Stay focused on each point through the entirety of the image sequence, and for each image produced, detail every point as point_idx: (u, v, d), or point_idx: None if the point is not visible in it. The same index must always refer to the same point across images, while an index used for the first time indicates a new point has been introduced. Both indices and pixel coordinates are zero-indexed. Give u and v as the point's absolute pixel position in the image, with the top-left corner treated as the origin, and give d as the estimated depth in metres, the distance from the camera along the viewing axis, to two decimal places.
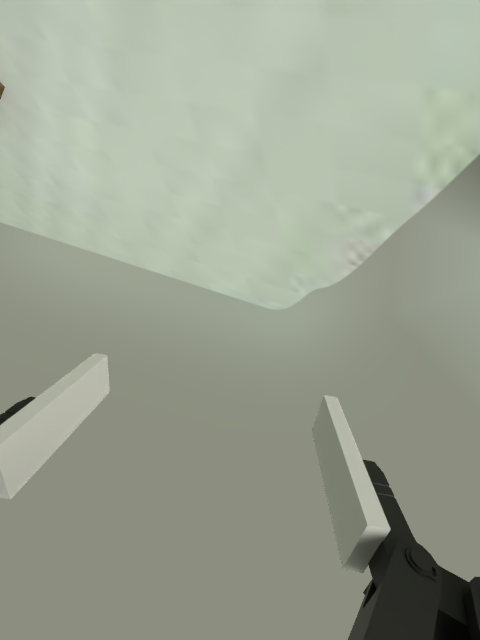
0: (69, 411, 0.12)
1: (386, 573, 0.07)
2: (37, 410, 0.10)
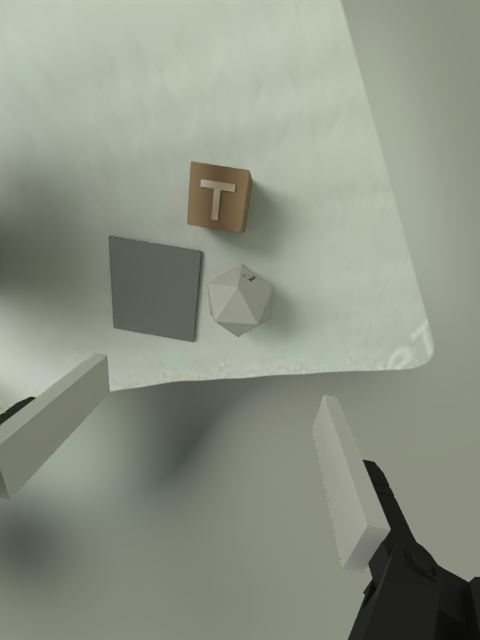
0: (69, 411, 0.12)
1: (386, 573, 0.07)
2: (37, 410, 0.10)
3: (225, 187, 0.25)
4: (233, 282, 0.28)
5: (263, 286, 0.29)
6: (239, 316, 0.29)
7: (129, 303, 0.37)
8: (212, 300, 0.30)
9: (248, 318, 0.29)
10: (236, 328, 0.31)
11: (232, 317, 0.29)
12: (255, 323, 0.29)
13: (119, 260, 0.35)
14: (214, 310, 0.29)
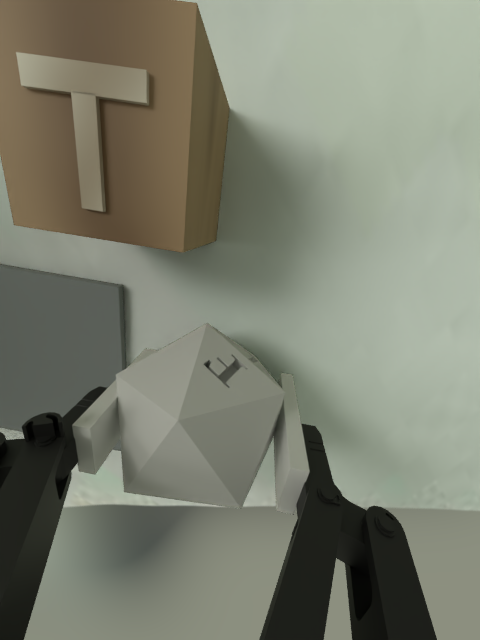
0: None
1: (302, 511, 0.08)
2: (113, 397, 0.12)
3: (114, 85, 0.07)
4: (171, 395, 0.10)
5: (259, 396, 0.11)
6: (188, 488, 0.10)
7: None
8: (122, 426, 0.11)
9: (214, 494, 0.10)
10: None
11: (169, 488, 0.10)
12: (234, 505, 0.10)
13: None
14: (124, 458, 0.11)
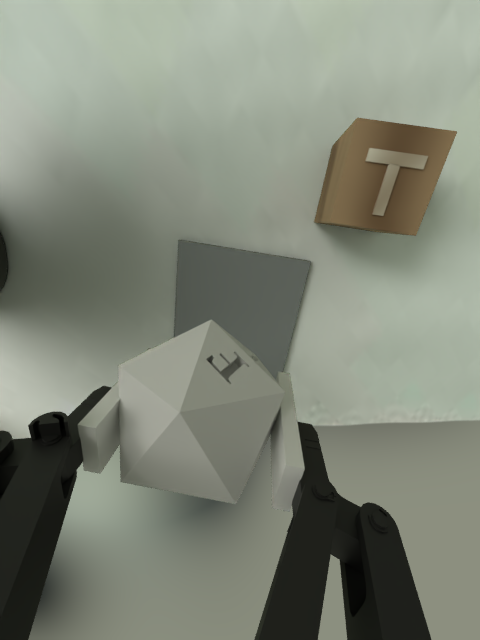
0: None
1: (297, 509, 0.08)
2: (118, 396, 0.12)
3: (408, 161, 0.15)
4: (173, 387, 0.10)
5: (260, 394, 0.11)
6: (185, 481, 0.10)
7: None
8: (122, 416, 0.11)
9: (210, 488, 0.10)
10: None
11: (166, 480, 0.10)
12: (229, 501, 0.10)
13: (190, 273, 0.25)
14: (122, 448, 0.11)
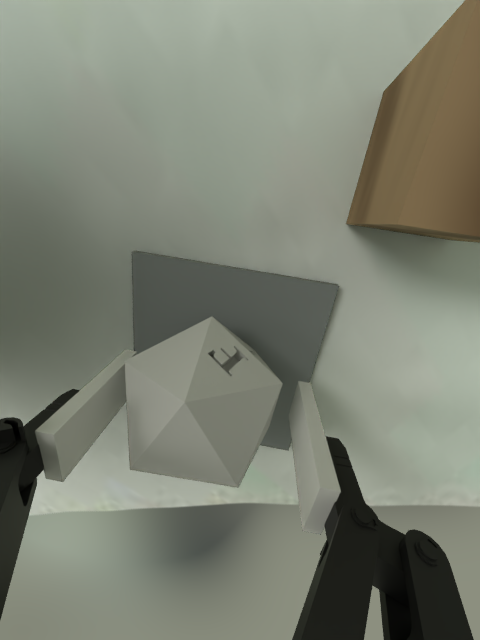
0: (107, 403, 0.13)
1: (335, 532, 0.08)
2: (84, 400, 0.11)
3: None
4: (177, 380, 0.10)
5: (258, 385, 0.12)
6: (190, 467, 0.11)
7: None
8: (129, 409, 0.12)
9: (214, 473, 0.11)
10: None
11: (172, 466, 0.11)
12: (232, 484, 0.11)
13: (153, 301, 0.16)
14: (130, 438, 0.12)
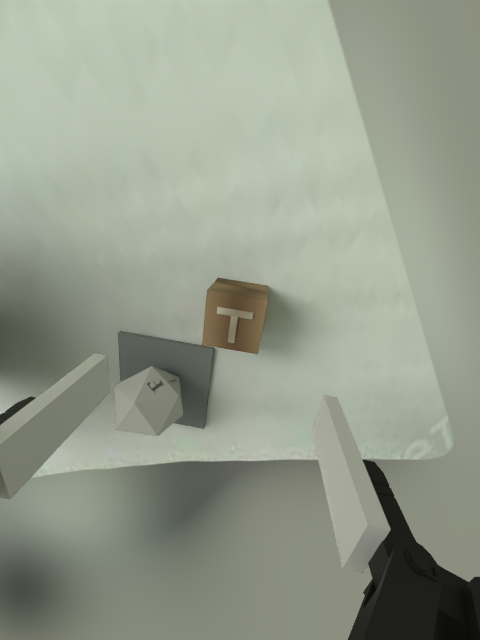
0: (69, 411, 0.12)
1: (386, 573, 0.07)
2: (37, 410, 0.10)
3: (243, 314, 0.24)
4: (133, 395, 0.28)
5: (167, 396, 0.29)
6: (138, 428, 0.28)
7: None
8: (115, 406, 0.29)
9: (147, 430, 0.28)
10: None
11: (132, 428, 0.28)
12: (155, 435, 0.29)
13: (129, 354, 0.34)
14: (116, 417, 0.29)
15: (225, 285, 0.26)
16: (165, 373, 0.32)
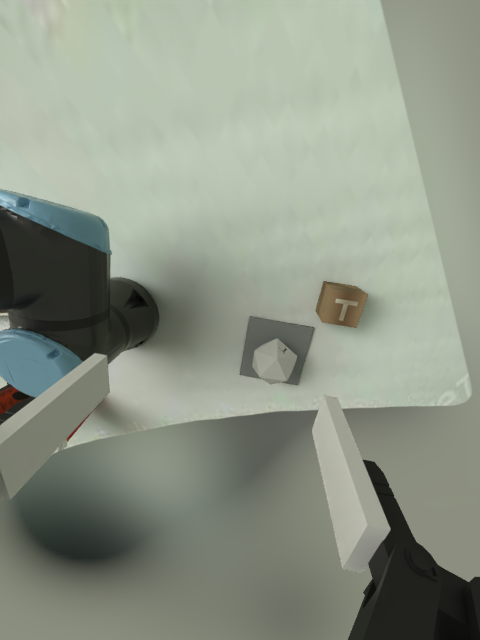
0: (69, 411, 0.12)
1: (386, 573, 0.07)
2: (37, 410, 0.10)
3: (351, 303, 0.41)
4: (273, 354, 0.45)
5: (291, 356, 0.46)
6: (275, 375, 0.45)
7: None
8: (257, 362, 0.46)
9: (281, 377, 0.45)
10: (271, 381, 0.47)
11: (271, 375, 0.45)
12: (285, 380, 0.45)
13: (254, 332, 0.51)
14: (259, 369, 0.46)
15: (335, 286, 0.43)
16: None
